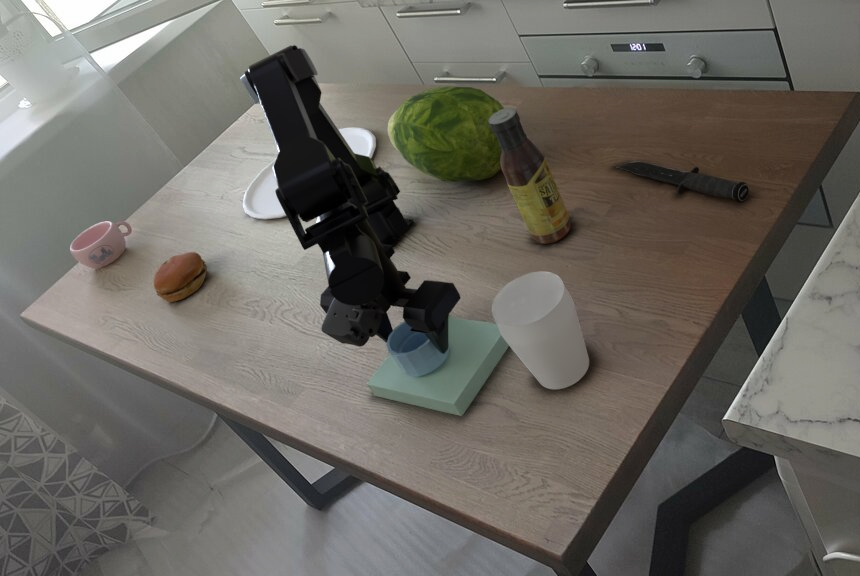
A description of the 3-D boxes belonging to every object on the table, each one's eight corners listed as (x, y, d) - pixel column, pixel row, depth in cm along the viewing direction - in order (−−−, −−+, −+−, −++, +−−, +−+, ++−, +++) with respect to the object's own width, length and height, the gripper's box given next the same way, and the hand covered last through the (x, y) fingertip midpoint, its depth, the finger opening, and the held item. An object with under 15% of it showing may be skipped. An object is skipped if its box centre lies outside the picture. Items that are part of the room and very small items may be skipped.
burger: (181, 306, 146) (165, 287, 144) (153, 300, 152) (137, 281, 149) (221, 268, 152) (206, 248, 149) (193, 263, 157) (178, 244, 154)
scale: (373, 395, 110) (358, 375, 108) (430, 320, 118) (418, 300, 115) (462, 416, 102) (448, 395, 99) (517, 333, 109) (505, 312, 107)
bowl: (392, 375, 108) (376, 351, 105) (422, 335, 112) (407, 312, 109) (431, 383, 104) (415, 359, 102) (461, 342, 108) (446, 317, 105)
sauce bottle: (569, 242, 120) (517, 125, 108) (529, 249, 122) (474, 135, 110) (576, 213, 124) (528, 98, 112) (537, 220, 127) (486, 108, 115)
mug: (93, 280, 167) (72, 258, 164) (83, 265, 174) (63, 243, 171) (146, 244, 171) (127, 222, 167) (134, 230, 178) (116, 208, 175)
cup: (525, 354, 106) (488, 285, 98) (594, 332, 104) (561, 260, 97) (530, 407, 99) (491, 337, 91) (604, 384, 97) (569, 311, 90)
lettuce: (438, 139, 159) (401, 67, 149) (544, 150, 141) (509, 69, 132) (386, 189, 152) (344, 116, 142) (490, 206, 134) (450, 125, 125)
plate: (401, 153, 160) (398, 148, 159) (269, 241, 153) (265, 236, 152) (346, 118, 182) (344, 113, 181) (229, 193, 175) (226, 189, 174)
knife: (754, 187, 112) (743, 179, 111) (737, 219, 113) (726, 211, 111) (634, 146, 130) (623, 138, 129) (620, 173, 131) (609, 166, 129)
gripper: (262, 295, 98) (329, 383, 107) (374, 312, 87) (438, 408, 97) (321, 232, 104) (380, 320, 114) (432, 241, 93) (487, 337, 103)
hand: (418, 346), depth 106 cm, fingers open, 9 cm apart
